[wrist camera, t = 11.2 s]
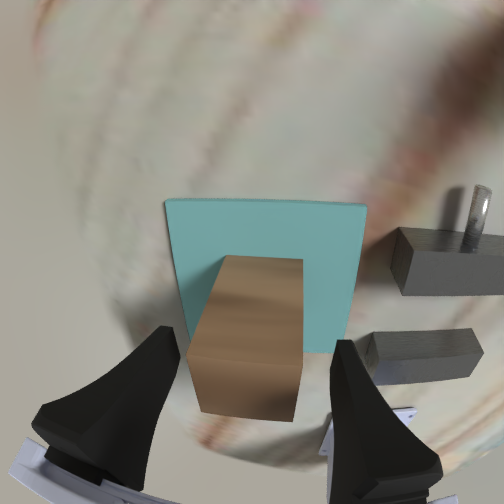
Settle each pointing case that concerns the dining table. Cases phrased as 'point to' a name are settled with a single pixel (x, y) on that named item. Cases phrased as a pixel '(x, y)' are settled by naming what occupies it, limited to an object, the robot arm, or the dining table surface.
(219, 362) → the walnut peg
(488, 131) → the dining table surface
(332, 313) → the teal mat
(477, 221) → the metal vise
